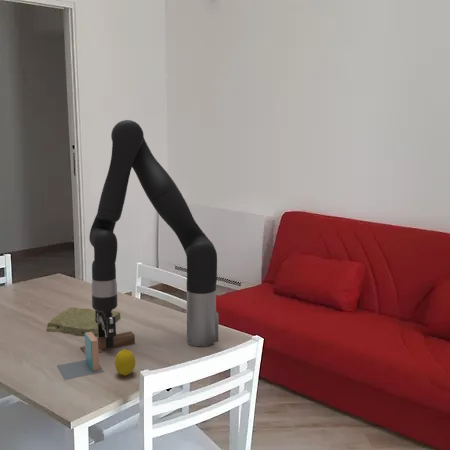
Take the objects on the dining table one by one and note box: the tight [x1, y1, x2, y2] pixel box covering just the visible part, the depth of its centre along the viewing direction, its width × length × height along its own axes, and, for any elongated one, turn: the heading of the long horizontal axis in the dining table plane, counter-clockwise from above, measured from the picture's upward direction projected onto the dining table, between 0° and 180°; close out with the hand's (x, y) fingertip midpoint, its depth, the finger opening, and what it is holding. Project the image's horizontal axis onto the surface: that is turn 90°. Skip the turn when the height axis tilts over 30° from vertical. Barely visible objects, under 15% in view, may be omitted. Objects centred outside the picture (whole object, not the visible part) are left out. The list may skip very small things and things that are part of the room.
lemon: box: [114, 348, 136, 377], centre depth 160 cm, size 6×6×8 cm
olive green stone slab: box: [45, 306, 122, 338], centre depth 198 cm, size 19×20×4 cm
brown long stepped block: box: [79, 331, 136, 355], centre depth 179 cm, size 6×16×4 cm, turn 120°
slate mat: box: [56, 359, 105, 381], centre depth 164 cm, size 11×10×1 cm
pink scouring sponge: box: [84, 332, 100, 372], centre depth 165 cm, size 2×7×9 cm, turn 28°
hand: (105, 342), depth 179 cm, fingers open, 8 cm apart
